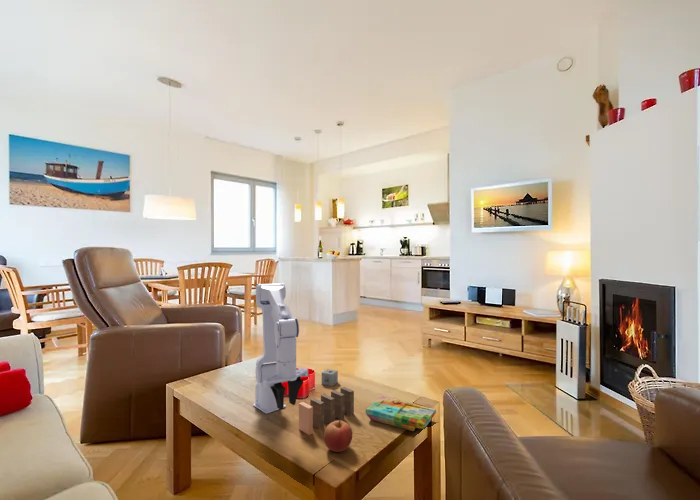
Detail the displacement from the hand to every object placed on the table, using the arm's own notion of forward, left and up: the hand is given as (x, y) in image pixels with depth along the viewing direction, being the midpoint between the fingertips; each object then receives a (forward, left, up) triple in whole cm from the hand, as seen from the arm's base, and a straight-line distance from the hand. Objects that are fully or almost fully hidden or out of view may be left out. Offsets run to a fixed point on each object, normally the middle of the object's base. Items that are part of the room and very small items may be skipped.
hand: (286, 406), depth 101 cm
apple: (+14, +8, -10) cm, 19 cm away
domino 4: (0, +20, -10) cm, 23 cm away
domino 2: (0, +12, -10) cm, 15 cm away
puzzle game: (+16, +34, -10) cm, 39 cm away
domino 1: (0, +7, -10) cm, 12 cm away
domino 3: (0, +16, -10) cm, 19 cm away
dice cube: (-24, +38, -10) cm, 46 cm away
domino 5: (0, +25, -10) cm, 27 cm away
